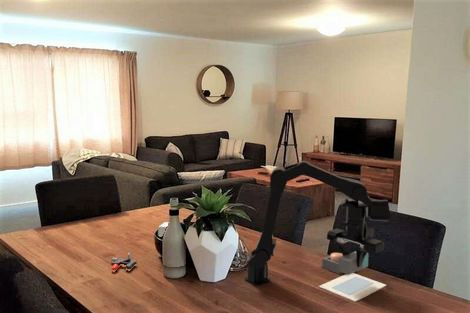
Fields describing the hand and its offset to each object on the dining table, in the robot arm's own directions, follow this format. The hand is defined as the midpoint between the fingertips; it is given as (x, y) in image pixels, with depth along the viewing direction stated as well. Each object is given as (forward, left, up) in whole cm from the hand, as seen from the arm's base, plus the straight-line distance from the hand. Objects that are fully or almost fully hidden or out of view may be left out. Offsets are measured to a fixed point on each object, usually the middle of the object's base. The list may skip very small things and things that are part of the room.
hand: (353, 265), depth 143 cm
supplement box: (-31, +64, -8) cm, 71 cm away
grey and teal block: (0, 0, -1) cm, 1 cm away
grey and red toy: (-52, +65, -8) cm, 84 cm away
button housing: (+9, +13, -7) cm, 17 cm away
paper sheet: (0, 0, -7) cm, 7 cm away
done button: (+9, +13, -5) cm, 17 cm away
